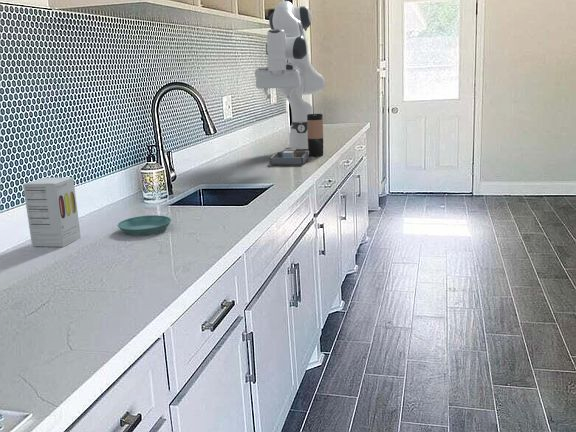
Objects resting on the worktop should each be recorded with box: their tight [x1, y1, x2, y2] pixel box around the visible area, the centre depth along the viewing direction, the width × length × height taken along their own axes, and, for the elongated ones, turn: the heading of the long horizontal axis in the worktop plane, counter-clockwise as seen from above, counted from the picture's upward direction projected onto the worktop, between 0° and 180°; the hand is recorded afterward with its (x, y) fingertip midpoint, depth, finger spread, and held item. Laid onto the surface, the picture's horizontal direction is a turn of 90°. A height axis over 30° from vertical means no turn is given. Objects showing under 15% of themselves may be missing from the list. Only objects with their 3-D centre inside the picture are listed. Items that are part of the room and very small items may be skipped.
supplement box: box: [22, 176, 82, 248], centre depth 155 cm, size 10×9×17 cm
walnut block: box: [284, 148, 297, 157], centre depth 274 cm, size 4×4×4 cm
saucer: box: [116, 214, 172, 236], centre depth 165 cm, size 15×15×3 cm
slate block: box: [282, 150, 294, 158], centre depth 267 cm, size 4×4×4 cm
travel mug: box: [307, 113, 324, 158], centre depth 285 cm, size 8×8×20 cm
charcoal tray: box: [269, 150, 309, 167], centre depth 271 cm, size 19×15×4 cm
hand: (278, 98), depth 265 cm, fingers open, 8 cm apart
